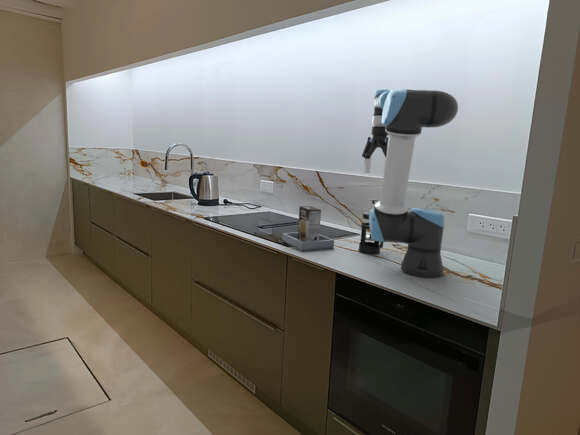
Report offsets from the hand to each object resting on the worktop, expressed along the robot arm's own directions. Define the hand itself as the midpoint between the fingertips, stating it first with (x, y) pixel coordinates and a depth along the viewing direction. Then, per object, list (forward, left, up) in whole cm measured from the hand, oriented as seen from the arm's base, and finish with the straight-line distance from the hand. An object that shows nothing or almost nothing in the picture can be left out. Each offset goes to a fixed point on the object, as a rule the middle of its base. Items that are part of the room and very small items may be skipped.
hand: (376, 174), depth 185 cm
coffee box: (+7, +30, -32) cm, 44 cm away
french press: (-11, +9, -33) cm, 36 cm away
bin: (+7, +30, -33) cm, 45 cm away
